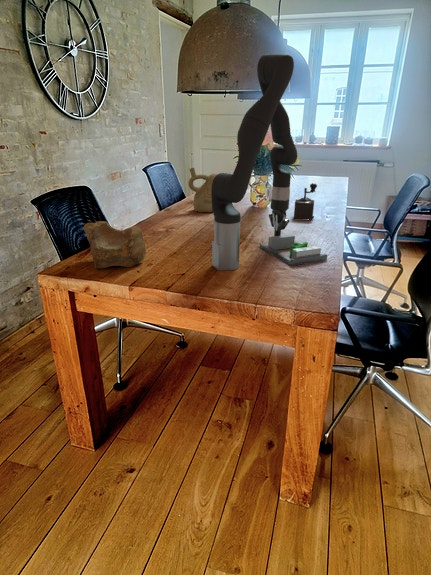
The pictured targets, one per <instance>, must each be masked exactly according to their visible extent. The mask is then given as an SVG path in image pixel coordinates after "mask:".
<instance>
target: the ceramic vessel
mask: <svg viewBox="0 0 431 575" xmlns="http://www.w3.org/2000/svg"><path fill="white" fill-rule="evenodd" d="M195 168H196V167H191V168H189V172H190V175H191V177H190V178H189V179H188V182H187V183H188V187H189V189H190V190H191V191H193V192H195V193H194V196H193V200H192V202H193V206H192V207H193V209H194V211H195V212H197V211H198V212H197V213H202V212H208V213H213V212H212V197H211V187H212V182H213V179H214V178H215V176H216V175H217V173H211V174H209V175H206V174H196V169H195ZM196 180H204V181H205V182H204V183H203V184H202V185H200V186H198V187H197V186H195V185H194V181H196Z"/></svg>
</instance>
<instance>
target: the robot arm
mask: <svg viewBox="0 0 431 575" xmlns="http://www.w3.org/2000/svg"><path fill="white" fill-rule="evenodd" d="M294 68H295V61H294V57H293V56H292V55H291V54H290V53H264V54H263V55H262V56H260V58H259V60H258V61H257V66H256V71H257V72H256V74H257V79H258V83H259V85H260V90H261V94H262V96H261V97H260V98H259V99H258V100H257V101H256V102H255V103H253V105H251V106H250V108H249V109H248V110H247V111H246V112H245V114H244V116H243V118H242V120H241V124H240V126H239V128H238V130H237V136H236V138H237V139H236V141H237V142H236V143H237V151H238V158H237V162H236V165H235V168H234V170H233V173H227V172H226V173H225V172H221V173H218V174H217V173H216V174H217V175H216V176H215V178H214V179H213V182H212V187H211V197H212V212H211V213H212V214H213V218H214V221H213V222H214V223H213V224H214V227H213V228H214V231H213V232H214V233H213V236H214V237H213V238H214V240H212V241H211V258H212V259H211V264H212V265H211V266H213V268H214V269H216V270H217V271H235V270H237V269H239V267H240V248H241V247H240V244H241V243H240V242H241V218H242V217H241V213H240V211H239V210H238V209H236V208H235V206H234V205H233V204H237V203H238V204H239V203H240V202H242V200H243V198H244V197H245V195H246V194H247V190H248V188H249V184H250V181H251V176H252V174H253V170H254V167H255V164H256V161H257V159H258V157H259V153H260V150H261V148H262V146H263V144H264V141H265V138H266V136H267V133H268V131H269V128H270V130H271V131H270V132H271V139H272V141H273V142H274V143H275V144H277V145H275V146H273V147H272V148H271V149H270V152H269V159H270V164H271V169H272V170H271V171H272V185H271V186H272V188H271V194H270V196H271V197H270V206H269V207H270V209H271V213H269V214H268V219H269V221H270V226H271V228H273V230H274V232H273V233H274V234H273V236H281V235H282V233H281V232H282V231H284V230H285V229H286V228H287V226H288V225H289V223H290V219H287V211H288V210H289V208H290V196H291V178H292V177H291V172H289V171H287V170H285V169H283V168H282V166H293V165H294V164H296V162H297V160H298V150H297V147H296V144H295V142H294V140H293V137H292V135H291V134H292V133H291V122H290V117H289V115H288V112H287V110H286V108H285V107H284V105H283V103H282V102H281V99H282V98H283V96H284V94H285V92H286V90H287V88H288V86H289V84H290V82H291V80H292V76H293V74H294V73H293V72H294Z"/></svg>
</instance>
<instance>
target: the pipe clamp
mask: <svg viewBox="0 0 431 575" xmlns="http://www.w3.org/2000/svg"><path fill="white" fill-rule="evenodd" d="M308 244H309V243H308V242H307V241H305V242H303V243H300V242H297V243H295V246H292V245H291V248H289V257H291V258H292V249H297V248H305V247H308Z"/></svg>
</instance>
